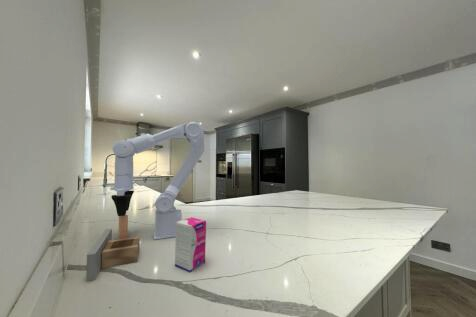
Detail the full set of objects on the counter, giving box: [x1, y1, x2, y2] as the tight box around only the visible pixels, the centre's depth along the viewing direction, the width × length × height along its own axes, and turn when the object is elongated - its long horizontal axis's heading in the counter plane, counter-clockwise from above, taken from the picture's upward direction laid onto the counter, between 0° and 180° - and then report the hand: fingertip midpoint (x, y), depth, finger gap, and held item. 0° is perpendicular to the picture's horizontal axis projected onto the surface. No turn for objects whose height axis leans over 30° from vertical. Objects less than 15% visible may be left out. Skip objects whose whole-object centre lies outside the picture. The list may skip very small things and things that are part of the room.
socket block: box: [101, 236, 141, 269], centre depth 53 cm, size 8×8×4 cm
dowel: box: [117, 214, 129, 239], centre depth 67 cm, size 3×3×8 cm
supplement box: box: [174, 217, 207, 273], centre depth 50 cm, size 6×6×12 cm
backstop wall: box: [85, 228, 113, 282], centre depth 51 cm, size 2×18×6 cm, turn 24°
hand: (123, 213), depth 67 cm, fingers open, 7 cm apart
